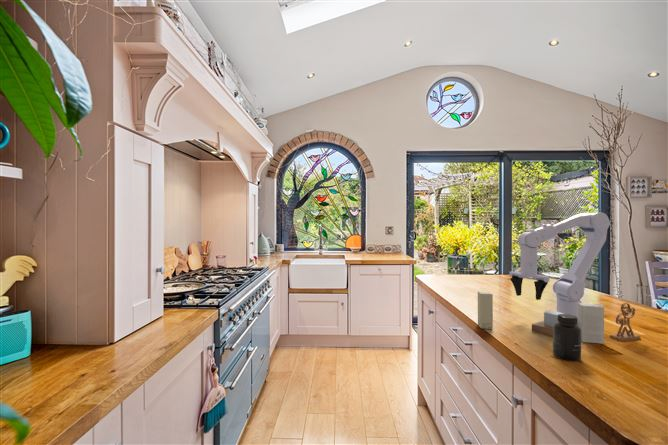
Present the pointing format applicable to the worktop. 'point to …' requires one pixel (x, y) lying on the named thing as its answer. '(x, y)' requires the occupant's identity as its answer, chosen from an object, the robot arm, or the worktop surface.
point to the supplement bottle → (567, 338)
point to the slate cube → (551, 318)
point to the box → (485, 310)
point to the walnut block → (542, 328)
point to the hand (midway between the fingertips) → (528, 297)
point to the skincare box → (591, 322)
